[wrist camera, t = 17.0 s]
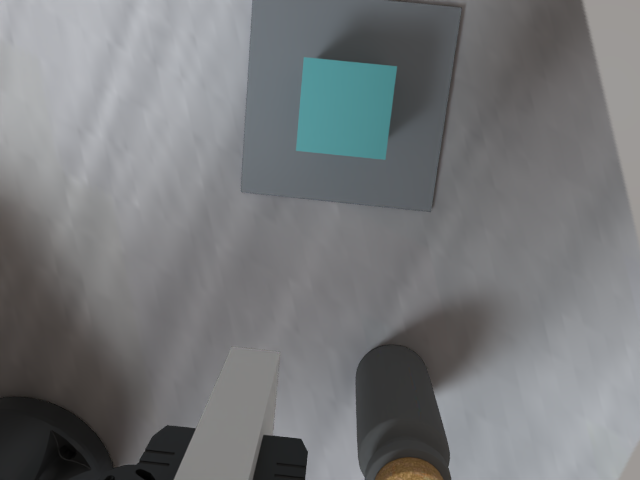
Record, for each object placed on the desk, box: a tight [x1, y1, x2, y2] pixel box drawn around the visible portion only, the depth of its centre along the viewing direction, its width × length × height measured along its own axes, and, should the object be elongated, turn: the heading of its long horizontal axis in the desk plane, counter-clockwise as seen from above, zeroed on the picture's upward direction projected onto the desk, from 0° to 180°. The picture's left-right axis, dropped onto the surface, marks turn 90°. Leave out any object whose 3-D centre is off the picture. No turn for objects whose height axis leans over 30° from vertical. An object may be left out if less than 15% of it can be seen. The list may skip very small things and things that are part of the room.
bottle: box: [356, 345, 451, 480], centre depth 39 cm, size 6×6×15 cm
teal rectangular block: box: [296, 57, 397, 160], centre depth 37 cm, size 5×5×8 cm
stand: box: [241, 0, 462, 212], centre depth 38 cm, size 14×14×7 cm
